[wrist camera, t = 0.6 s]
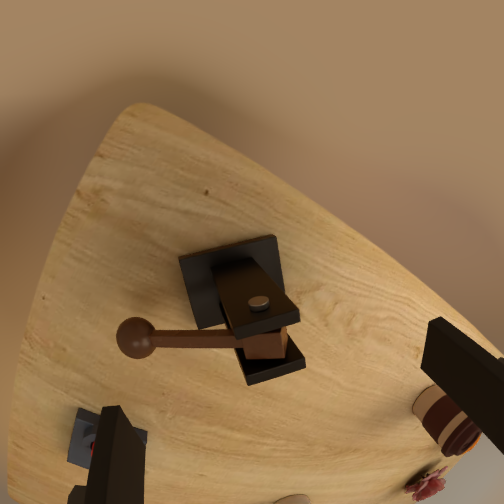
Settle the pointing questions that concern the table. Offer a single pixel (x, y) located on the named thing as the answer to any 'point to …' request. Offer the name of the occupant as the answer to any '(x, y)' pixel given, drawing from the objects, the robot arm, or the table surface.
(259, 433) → the table surface
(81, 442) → the button block
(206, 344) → the lever
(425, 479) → the flower
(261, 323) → the bracket
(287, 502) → the mug
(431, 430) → the coffee cup
